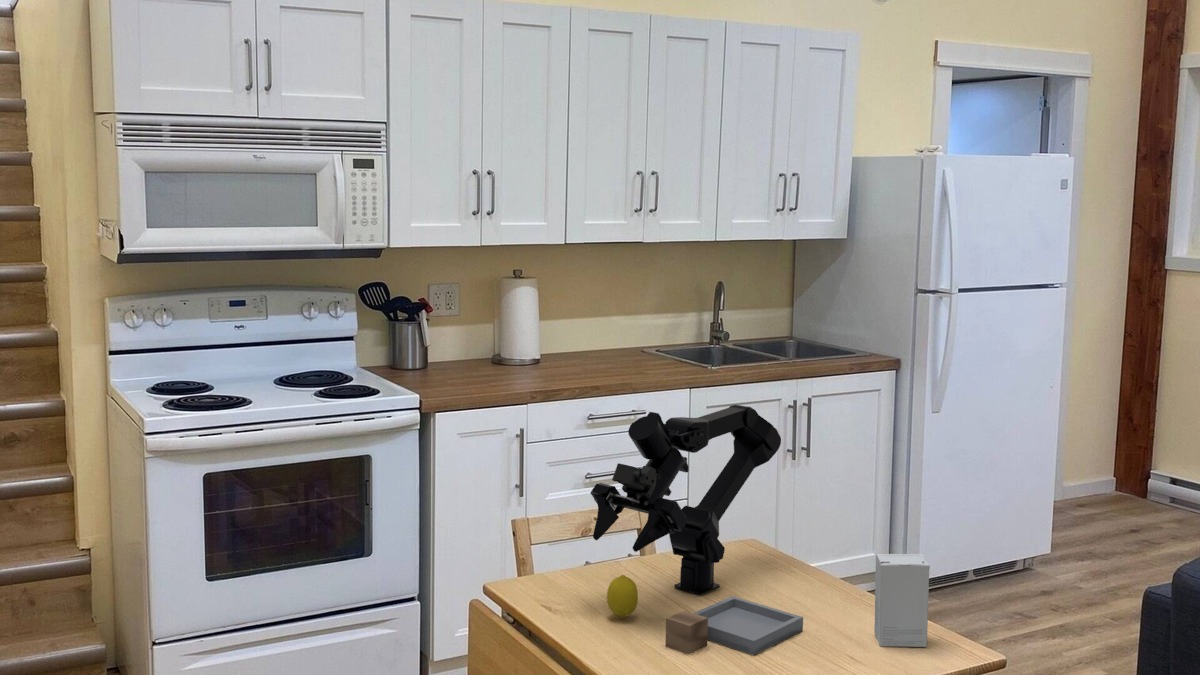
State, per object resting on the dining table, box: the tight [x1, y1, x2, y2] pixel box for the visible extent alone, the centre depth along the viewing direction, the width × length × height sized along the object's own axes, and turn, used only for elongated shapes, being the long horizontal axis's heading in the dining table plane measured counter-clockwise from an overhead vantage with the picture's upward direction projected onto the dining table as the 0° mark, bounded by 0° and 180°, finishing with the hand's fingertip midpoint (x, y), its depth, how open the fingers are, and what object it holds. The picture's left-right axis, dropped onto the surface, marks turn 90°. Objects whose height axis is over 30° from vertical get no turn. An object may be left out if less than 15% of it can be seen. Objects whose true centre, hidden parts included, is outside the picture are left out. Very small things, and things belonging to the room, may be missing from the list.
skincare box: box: [873, 553, 931, 648], centre depth 202 cm, size 8×6×15 cm
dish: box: [693, 595, 804, 656], centre depth 206 cm, size 15×15×2 cm
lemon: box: [606, 574, 639, 619], centre depth 211 cm, size 6×6×8 cm
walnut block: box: [665, 610, 708, 655], centre depth 199 cm, size 5×5×5 cm
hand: (614, 544), depth 208 cm, fingers open, 9 cm apart
